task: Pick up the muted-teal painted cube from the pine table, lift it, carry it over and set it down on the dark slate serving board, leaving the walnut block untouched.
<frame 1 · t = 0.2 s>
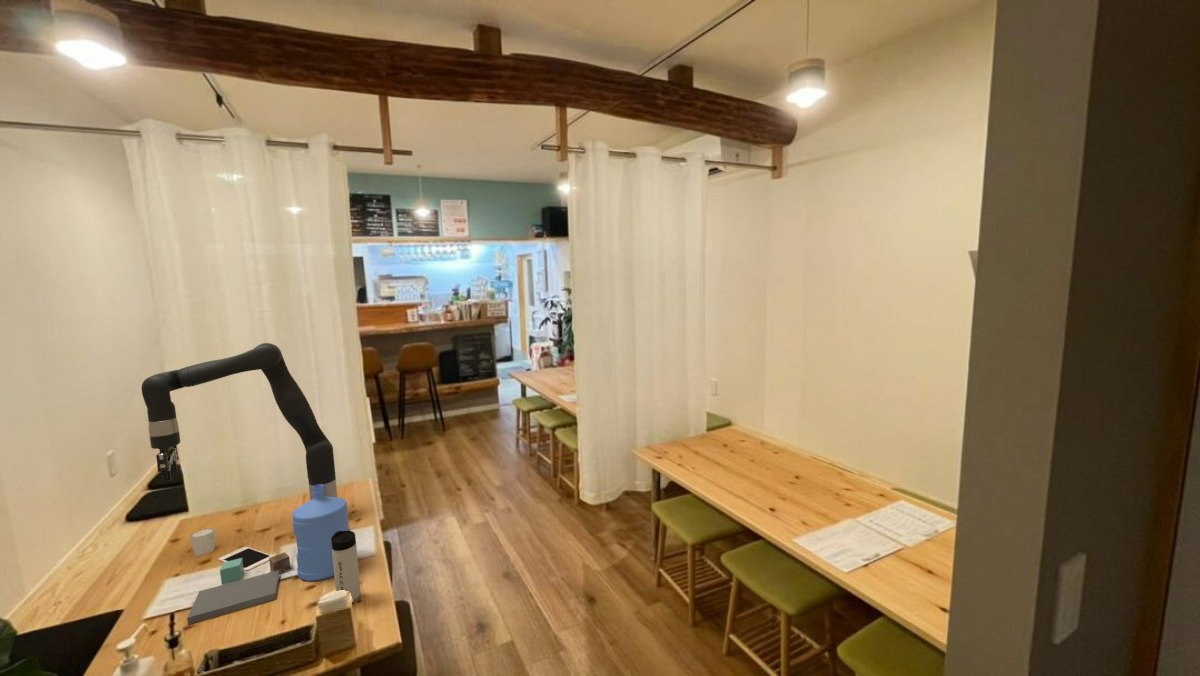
hand: (170, 478, 164), 29 cm above the table, tool pointing down, fingers open, 8 cm apart
water jug: (325, 568, 157), on the table
cell phone: (246, 560, 164), on the table
walnut block: (280, 570, 157), on the table
teal cube: (233, 578, 153), on the table
travel mug: (348, 599, 140), on the table
slate board: (237, 598, 142), on the table
white cylinder: (204, 551, 170), on the table
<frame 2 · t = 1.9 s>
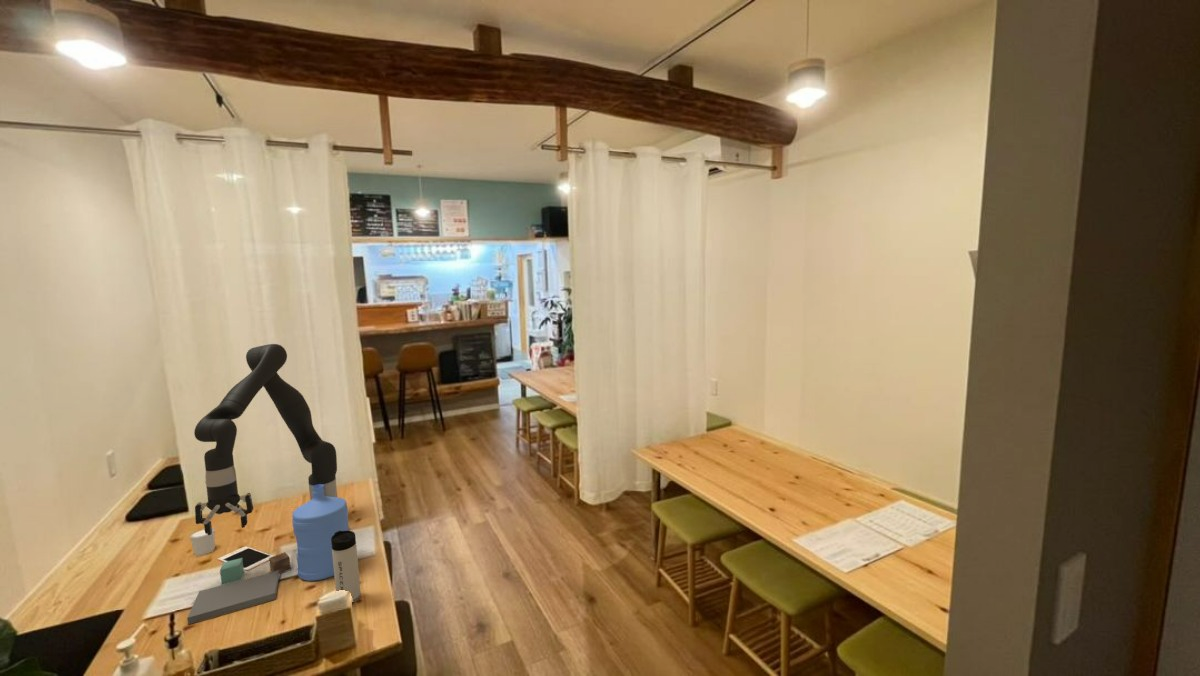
hand: (227, 530, 151), 16 cm above the table, tool pointing down, fingers open, 8 cm apart
nothing on the table moved.
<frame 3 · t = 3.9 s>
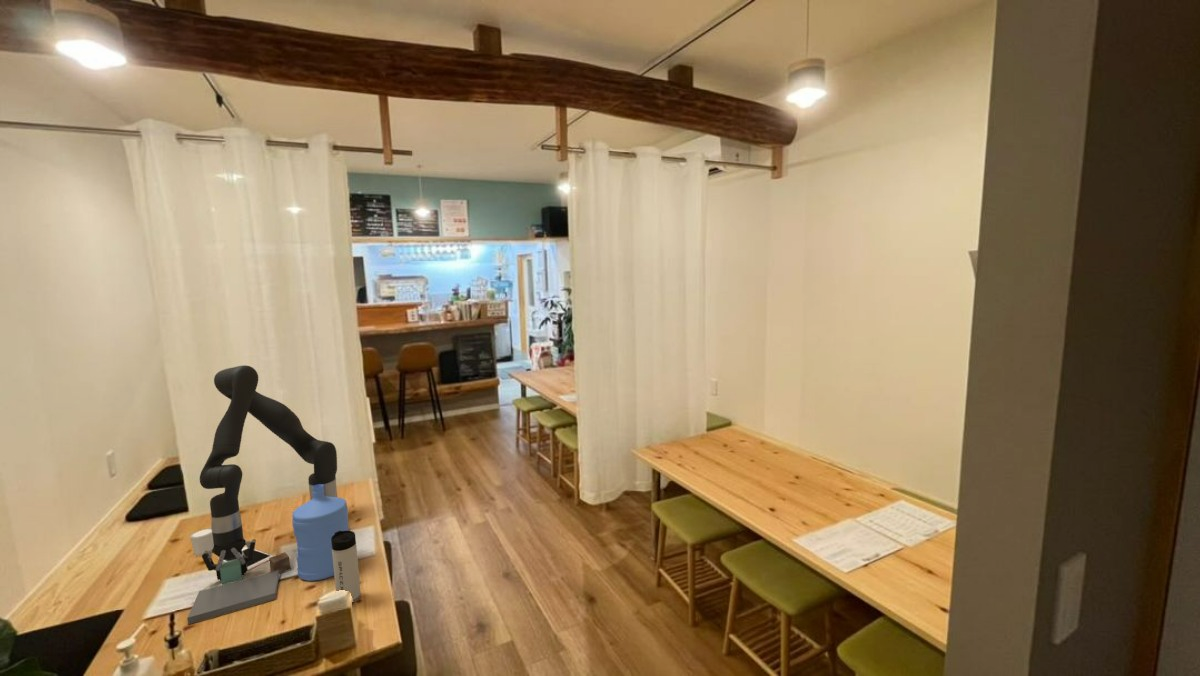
hand: (232, 576, 153), 0 cm above the table, tool pointing down, fingers closed on teal cube, 5 cm apart
teal cube: (233, 578, 153), on the table, touching gripper
everything else where it was.
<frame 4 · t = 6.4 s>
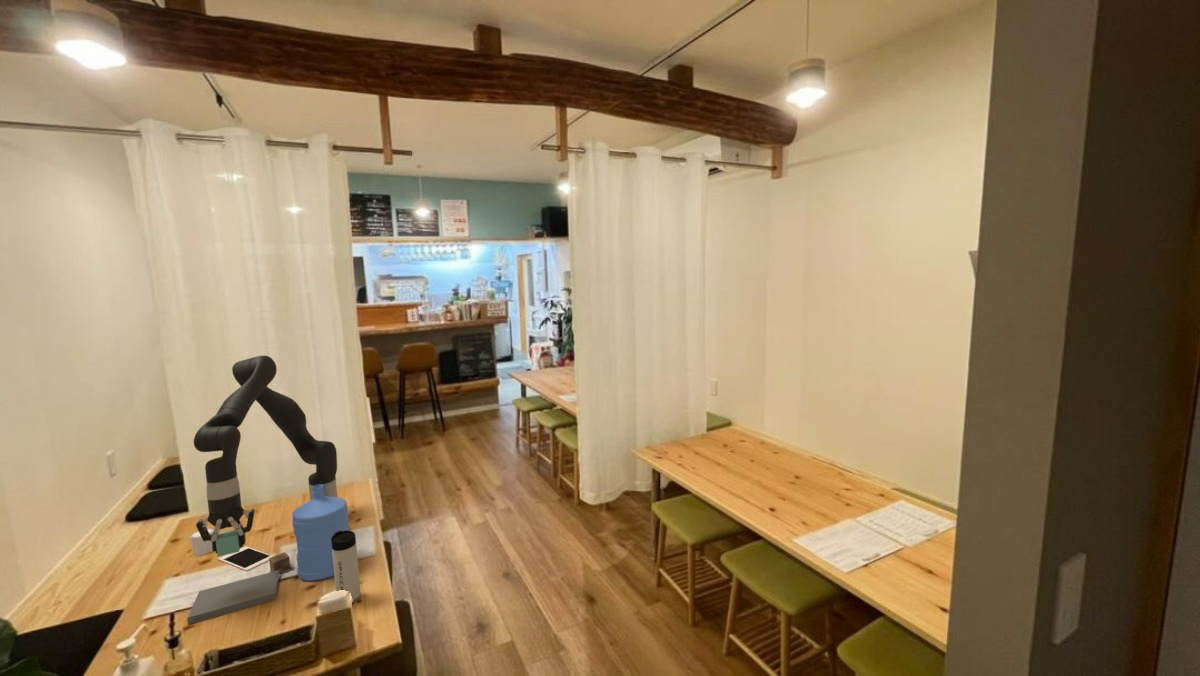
hand: (229, 548, 141), 16 cm above the table, tool pointing down, fingers closed on teal cube, 5 cm apart
teal cube: (229, 550, 141), point 15 cm above the table, touching gripper
everything else where it was.
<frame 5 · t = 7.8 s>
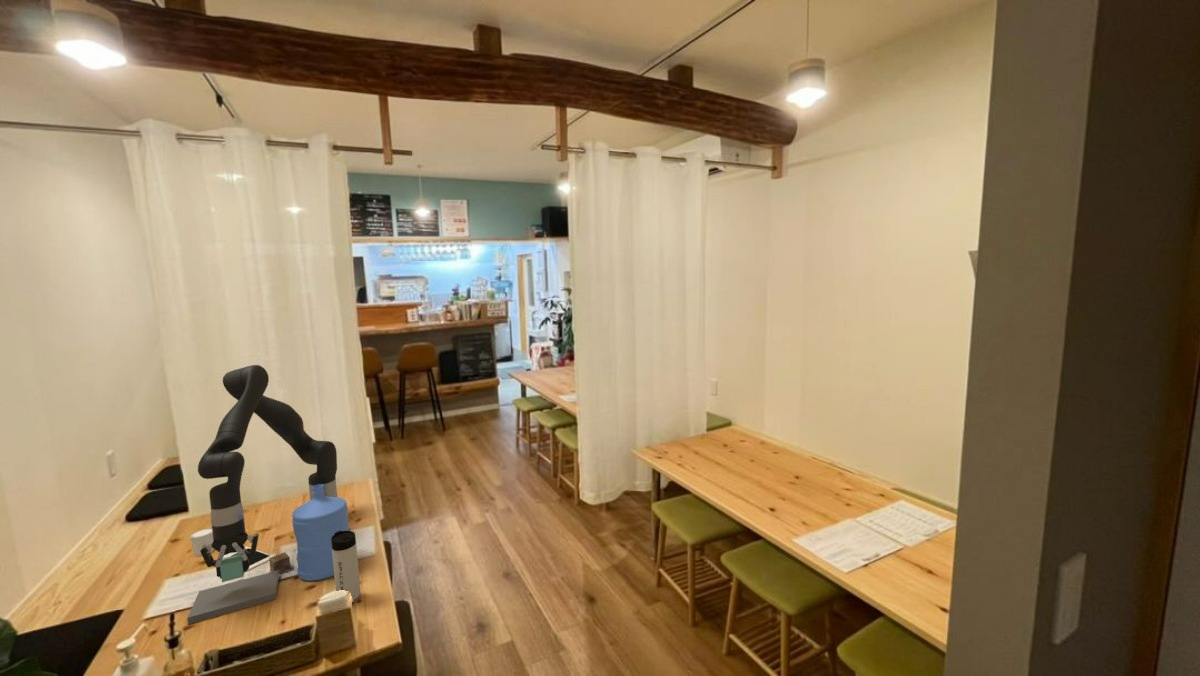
hand: (233, 573, 141), 8 cm above the table, tool pointing down, fingers closed on teal cube, 5 cm apart
teal cube: (234, 575, 141), point 7 cm above the table, touching gripper
everything else where it was.
when the fingers open (4 cm above the table, at t = 9.0 s): teal cube drops 1 cm, resting on slate board.
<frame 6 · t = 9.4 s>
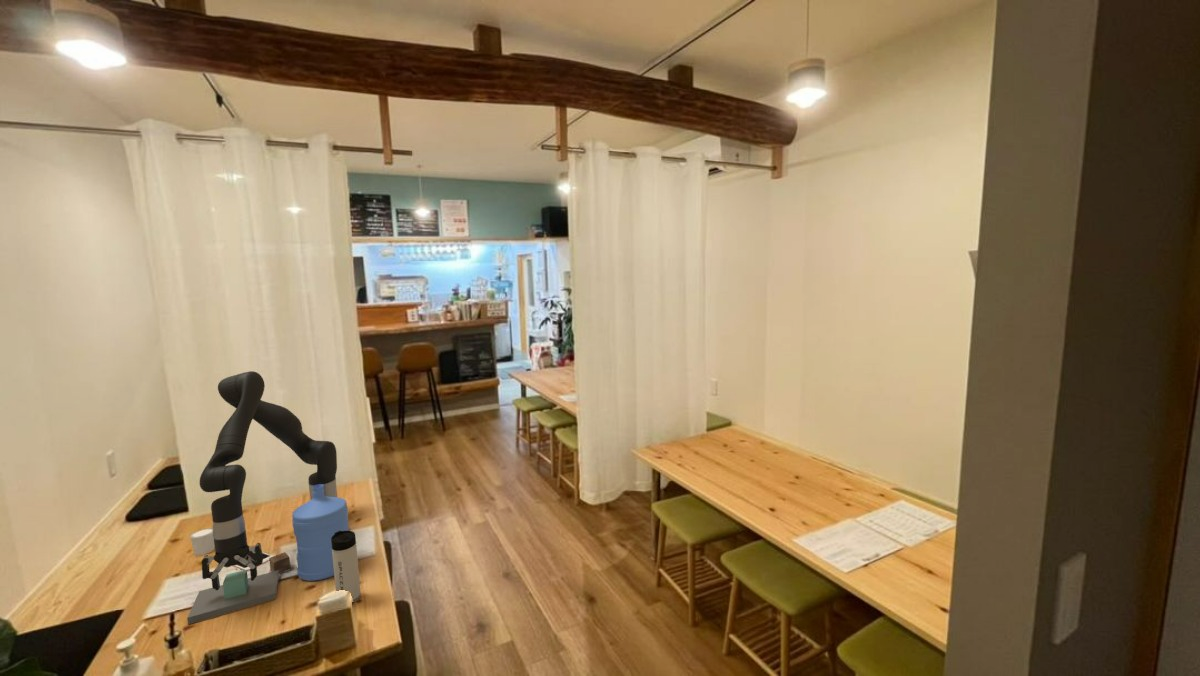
hand: (235, 583, 142), 5 cm above the table, tool pointing down, fingers open, 8 cm apart
teal cube: (236, 591, 142), point 2 cm above the table, touching slate board
everything else where it was.
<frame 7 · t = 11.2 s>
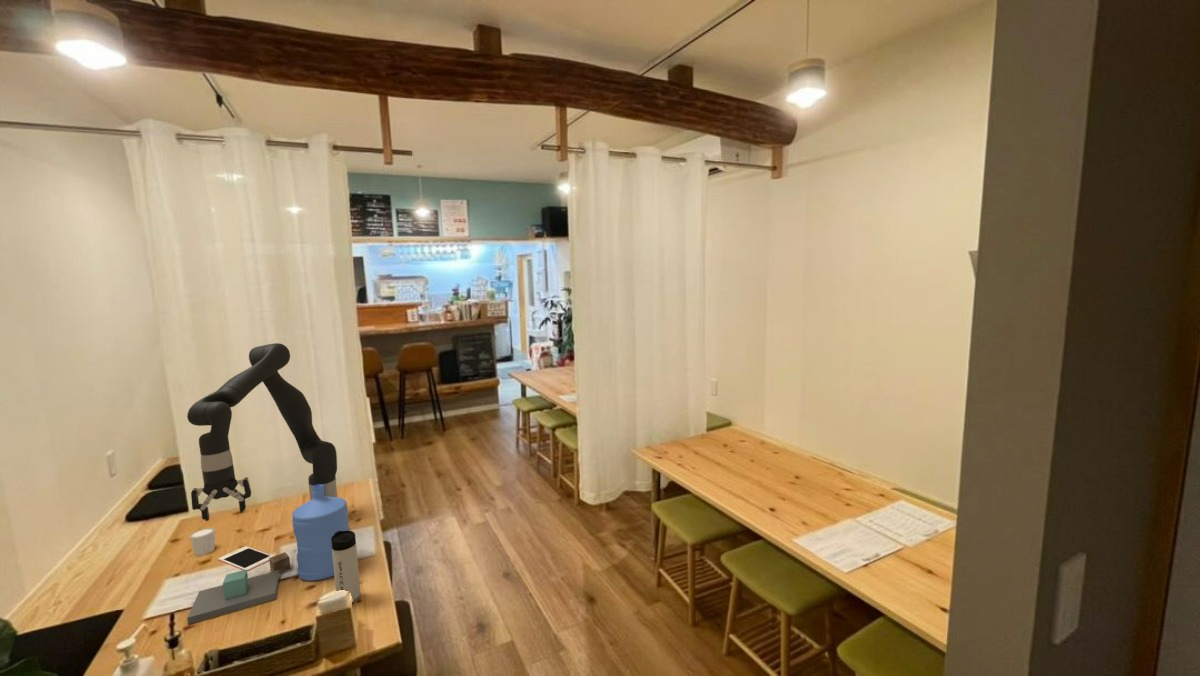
hand: (225, 515, 148), 22 cm above the table, tool pointing down, fingers open, 8 cm apart
nothing on the table moved.
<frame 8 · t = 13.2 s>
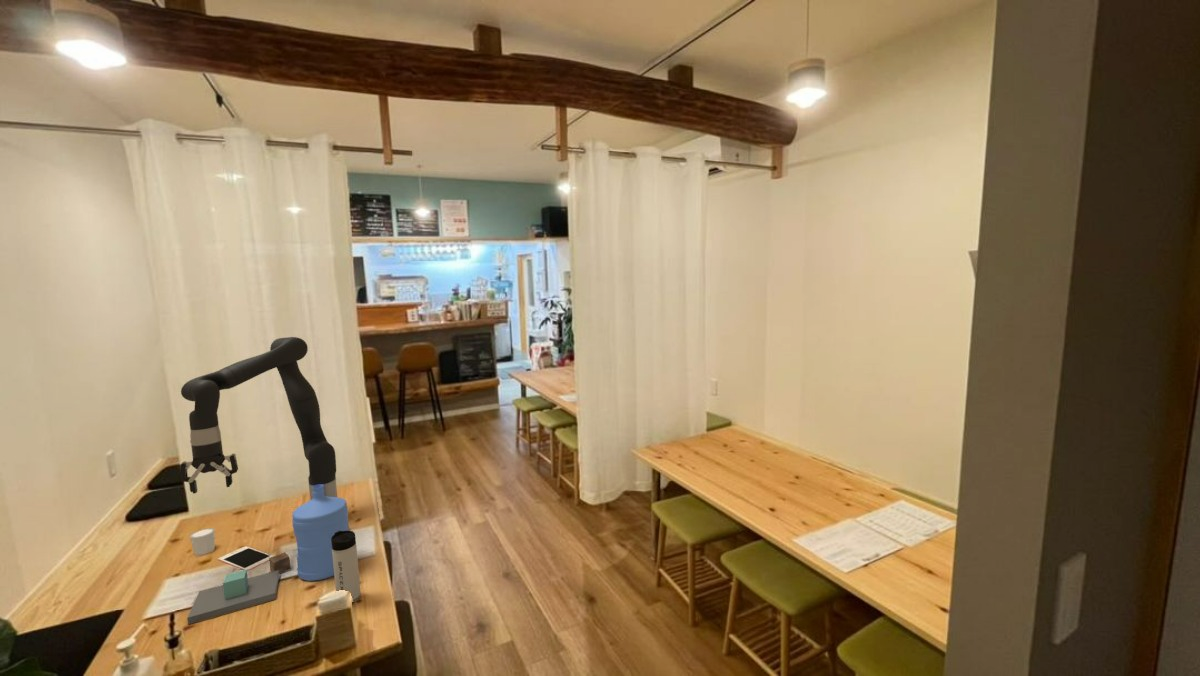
hand: (212, 489, 154), 28 cm above the table, tool pointing down, fingers open, 8 cm apart
nothing on the table moved.
at the end: teal cube inside the target area on the slate board (0.1 cm from its centre), point 2.0 cm above the slate board's base; teal cube tilted 0°; the gripper is holding nothing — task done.
